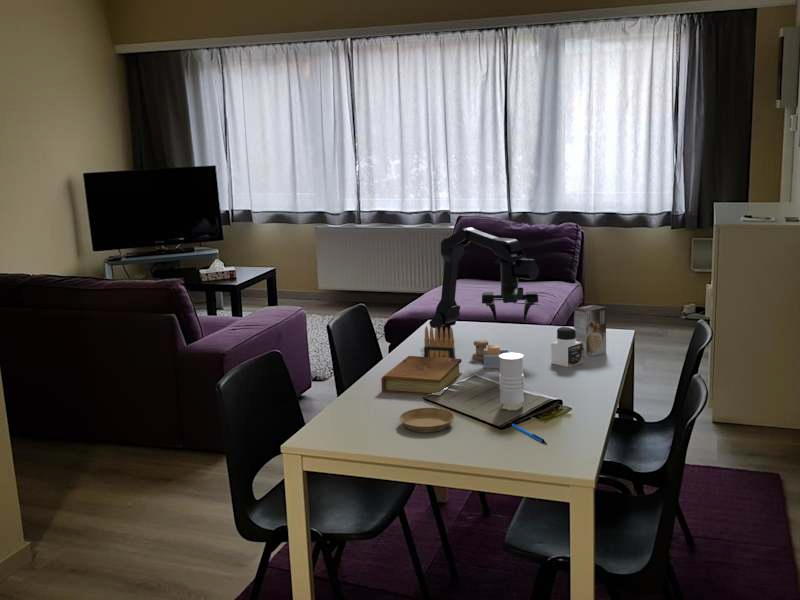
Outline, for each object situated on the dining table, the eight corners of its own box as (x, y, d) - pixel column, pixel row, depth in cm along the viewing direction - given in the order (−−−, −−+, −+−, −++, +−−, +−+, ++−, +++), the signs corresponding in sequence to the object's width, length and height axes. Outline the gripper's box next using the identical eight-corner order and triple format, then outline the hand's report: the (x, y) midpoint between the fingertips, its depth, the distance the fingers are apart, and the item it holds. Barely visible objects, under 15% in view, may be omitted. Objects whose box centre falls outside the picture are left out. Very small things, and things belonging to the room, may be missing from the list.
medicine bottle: (568, 367, 276) (568, 331, 274) (551, 363, 281) (550, 328, 279) (581, 362, 281) (582, 327, 278) (564, 359, 286) (564, 324, 283)
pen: (545, 445, 212) (544, 441, 212) (504, 423, 229) (503, 419, 228) (548, 445, 212) (547, 440, 212) (506, 422, 229) (506, 418, 229)
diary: (407, 372, 280) (406, 355, 279) (461, 376, 274) (461, 358, 273) (381, 393, 259) (381, 375, 258) (440, 397, 253) (440, 378, 252)
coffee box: (593, 349, 297) (593, 304, 293) (606, 352, 291) (607, 307, 288) (573, 353, 292) (573, 307, 289) (586, 357, 287) (586, 310, 283)
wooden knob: (472, 355, 295) (472, 340, 294) (490, 355, 294) (489, 339, 293) (472, 360, 289) (471, 344, 288) (490, 359, 288) (489, 344, 287)
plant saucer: (466, 424, 229) (465, 415, 228) (428, 440, 219) (427, 430, 218) (426, 412, 239) (426, 404, 239) (388, 427, 229) (388, 417, 229)
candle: (521, 412, 236) (521, 359, 233) (497, 410, 238) (496, 358, 235) (526, 404, 242) (526, 353, 239) (502, 402, 244) (502, 352, 241)
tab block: (487, 359, 285) (487, 345, 284) (499, 359, 285) (499, 344, 284) (487, 362, 282) (487, 348, 281) (499, 362, 281) (499, 348, 280)
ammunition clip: (455, 361, 289) (454, 326, 286) (454, 362, 287) (453, 328, 285) (425, 359, 292) (424, 325, 290) (424, 361, 291) (422, 326, 288)
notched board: (484, 360, 288) (483, 349, 287) (508, 360, 287) (507, 348, 287) (484, 367, 279) (483, 356, 279) (508, 367, 279) (508, 355, 278)
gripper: (481, 282, 279) (482, 328, 282) (539, 280, 277) (539, 327, 280) (481, 276, 290) (482, 320, 293) (537, 274, 288) (537, 319, 291)
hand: (510, 322), depth 289 cm, fingers open, 9 cm apart
